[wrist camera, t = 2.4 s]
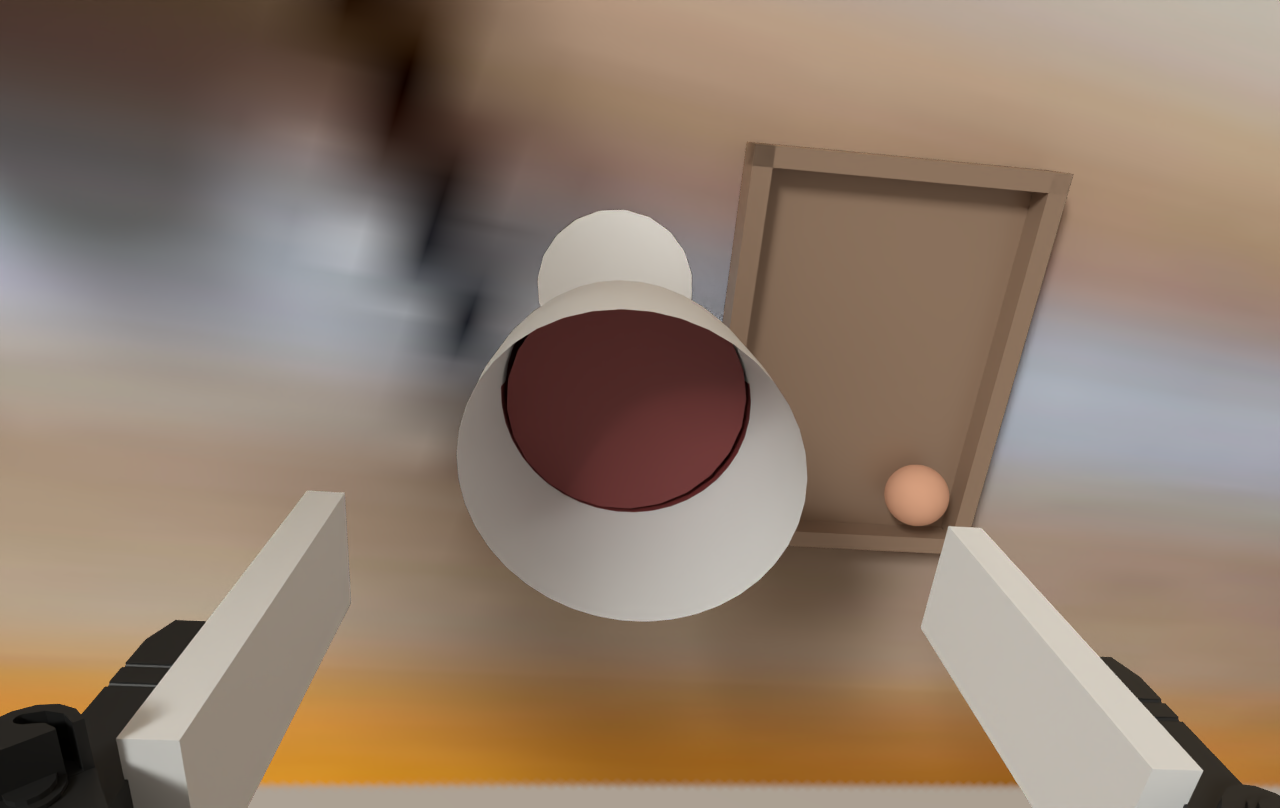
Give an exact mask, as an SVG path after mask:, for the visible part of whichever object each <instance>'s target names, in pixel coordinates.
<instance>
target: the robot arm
mask: <svg viewBox="0 0 1280 808" xmlns="http://www.w3.org/2000/svg"><path fill="white" fill-rule="evenodd" d="M350 604H351V591H350V574H349V556H348V539H347V521H346V504H345V493H341V492H323V491H306V493H305V494H304V495H303V497H302V498H301V499H300V501H299V502H298V503H297V504H296V506H295V507H294V508H293V510H292V511H291V512H290V514H289V515H288V516H287V517H286V519H285V520H284V521H283V523H282V524H281V525H280V526H279V528H278V529H277V530H276V532H275V533H274V534H273V536H272V537H271V538H270V539H269V541H268V542H267V543H266V545H265V546H264V547H263V549H262V550H261V551H260V552H259V554H258V555H257V556H256V558H255V559H254V560H253V562H252V563H251V564H250V565H249V567H248V568H247V569H246V571H245V572H244V573H243V574H242V576H241V577H240V578H239V580H238V581H237V582H236V584H235V585H234V586H233V587H232V589H231V590H230V591H229V593H228V594H227V595H226V597H225V598H224V599H223V600H222V602H221V603H220V604H219V606H218V607H217V608H216V610H215V611H214V612H213V613H212V615H211V616H210V617H209V619H208V620H207V621H184V620H175V621H173V622H172V623H170V624H169V625H167V626H166V627H164V628H163V629H161V630H160V631H158V632H157V633H155V634H153V635H152V636H150V637H149V638H147V639H146V640H145V641H144V642H143V643H142V644H141V646H140V647H139V648H138V649H137V650H136V651H135V653H134V654H133V655H132V656H131V657H130V658H129V660H128V661H127V662H126V665H125V667H122V668H121V669H120V670H119V671H118V672H117V673H116V675H115V676H114V677H113V678H112V679H111V680H110V682H109V686H108V687H104V689H103V690H102V691H101V692H100V693H99V694H98V696H97V697H96V698H95V699H94V700H93V701H92V703H91V704H90V705H89V706H88V707H87V708H86V710H85V711H84V712H83V713H82V714H80V713H79V712H78V711H77V709H75V708H72V707H68V706H65V705H61V704H47V705H35V706H31V707H27V708H23V709H20V710H16V711H12V712H10V713H7V714H5V715H3V716H1V717H0V808H248V806H249V804H250V802H251V800H252V798H253V796H254V794H255V792H256V790H257V788H258V786H259V784H260V782H261V780H262V778H263V776H264V774H265V772H266V770H267V768H268V766H269V764H270V762H271V760H272V758H273V756H274V754H275V752H276V750H277V748H278V746H279V744H280V742H281V740H282V738H283V736H284V734H285V732H286V730H287V728H288V727H289V725H290V723H291V721H292V719H293V717H294V715H295V713H296V711H297V709H298V707H299V705H300V703H301V701H302V699H303V697H304V695H305V693H306V691H307V689H308V687H309V685H310V683H311V681H312V679H313V677H314V675H315V673H316V671H317V669H318V667H319V665H320V663H321V661H322V659H323V657H324V655H325V653H326V651H327V649H328V647H329V645H330V643H331V641H332V639H333V638H334V636H335V634H336V632H337V630H338V628H339V626H340V624H341V622H342V620H343V618H344V616H345V614H346V612H347V610H348V608H349V606H350ZM921 629H922V631H923V632H924V634H925V636H926V637H927V639H928V640H929V642H930V644H931V645H932V647H933V648H934V650H935V652H936V653H937V655H938V657H939V658H940V660H941V661H942V663H943V665H944V666H945V668H946V669H947V671H948V673H949V674H950V676H951V677H952V679H953V681H954V682H955V684H956V685H957V687H958V689H959V690H960V692H961V694H962V695H963V697H964V698H965V700H966V702H967V703H968V705H969V706H970V708H971V710H972V711H973V713H974V714H975V716H976V718H977V719H978V721H979V723H980V724H981V726H982V727H983V729H984V731H985V732H986V734H987V735H988V737H989V739H990V740H991V742H992V743H993V745H994V747H995V748H996V750H997V752H998V753H999V755H1000V756H1001V758H1002V760H1003V761H1004V763H1005V764H1006V766H1007V768H1008V769H1009V771H1010V772H1011V774H1012V776H1013V777H1014V779H1015V781H1016V782H1017V784H1018V785H1019V787H1020V789H1021V790H1022V792H1023V793H1024V795H1025V797H1026V798H1027V800H1028V801H1029V803H1030V805H1031V806H1032V808H1280V796H1279V795H1278V794H1276V793H1273V792H1270V791H1267V790H1265V789H1262V788H1259V787H1256V786H1250V785H1243V784H1242V783H1241V782H1240V781H1239V780H1238V779H1237V778H1236V777H1235V776H1234V775H1233V774H1232V773H1231V772H1230V771H1229V770H1228V769H1227V768H1226V767H1225V766H1224V765H1223V763H1222V762H1221V761H1220V760H1219V759H1218V758H1217V757H1216V756H1215V755H1214V754H1213V753H1212V752H1211V751H1210V750H1209V749H1208V748H1207V747H1206V746H1205V745H1204V744H1203V743H1202V741H1201V740H1200V739H1199V738H1198V737H1197V736H1196V735H1195V734H1194V733H1193V732H1192V731H1191V730H1190V729H1189V728H1188V727H1187V726H1186V725H1185V724H1184V723H1183V722H1179V720H1178V716H1177V715H1176V714H1175V713H1174V712H1173V711H1172V710H1171V709H1170V708H1169V707H1168V706H1167V705H1166V704H1165V703H1161V698H1160V697H1159V696H1158V695H1157V694H1156V693H1155V692H1154V691H1153V690H1152V689H1151V688H1150V687H1149V686H1148V685H1147V684H1146V683H1145V682H1144V681H1143V680H1142V679H1141V678H1140V677H1139V676H1138V675H1136V674H1135V673H1133V672H1132V671H1130V670H1129V669H1128V668H1126V667H1125V666H1123V665H1122V664H1120V663H1119V662H1117V661H1116V660H1114V659H1113V658H1112V657H1099V656H1098V655H1097V654H1096V653H1095V652H1094V651H1093V649H1092V648H1091V647H1090V646H1089V645H1088V644H1087V643H1086V642H1085V641H1084V640H1083V639H1082V637H1081V636H1080V635H1079V634H1078V633H1077V632H1076V631H1075V630H1074V629H1073V628H1072V627H1071V625H1070V624H1069V623H1068V622H1067V621H1066V620H1065V619H1064V618H1063V617H1062V616H1061V615H1060V613H1059V612H1058V611H1057V610H1056V609H1055V608H1054V607H1053V606H1052V605H1051V604H1050V602H1049V601H1048V600H1047V599H1046V598H1045V597H1044V596H1043V595H1042V594H1041V593H1040V592H1039V590H1038V589H1037V588H1036V587H1035V586H1034V585H1033V584H1032V583H1031V582H1030V581H1029V580H1028V578H1027V577H1026V576H1025V575H1024V574H1023V573H1022V572H1021V571H1020V570H1019V569H1018V568H1017V566H1016V565H1015V564H1014V563H1013V562H1012V561H1011V560H1010V559H1009V558H1008V557H1007V555H1006V554H1005V553H1004V552H1003V551H1002V550H1001V549H1000V548H999V547H998V546H997V545H996V543H995V542H994V541H993V540H992V539H991V538H990V537H989V536H988V535H987V534H986V533H985V531H984V530H983V529H982V528H973V527H955V526H948V530H947V533H946V537H945V541H944V544H943V548H942V552H941V555H940V559H939V562H938V566H937V570H936V573H935V577H934V581H933V584H932V588H931V592H930V595H929V599H928V603H927V606H926V610H925V614H924V617H923V621H922V625H921Z"/></svg>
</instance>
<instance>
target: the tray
mask: <svg viewBox="0 0 1280 808" xmlns="http://www.w3.org/2000/svg"><path fill="white" fill-rule="evenodd" d="M1073 175H1074V174H1070V173H1063V172H1056V171H1049V170H1038V169H1028V168H1017V167H1007V166H996V165H986V164H975V163H965V162H954V161H944V160H933V159H923V158H913V157H902V156H892V155H881V154H871V153H860V152H850V151H839V150H829V149H818V148H808V147H797V146H787V145H776V144H766V143H755V142H747V144H746V152H745V159H744V166H743V174H742V181H741V189H740V196H739V203H738V211H737V218H736V226H735V233H734V240H733V248H732V255H731V263H730V270H729V277H728V285H727V292H726V300H725V307H724V314H723V322H722V323H723V324H725V325H726V326H727V327H728V328H729V329H730V330H731V331H732V332H733V333H734V334H735V335H736V337H737V338H738V339H739V340H740V341H741V342H742V343H743V344H744V346H745V347H746V348H747V349H748V350H749V351H750V352H751V353H752V355H753V356H754V357H755V358H756V359H757V360H758V361H759V362H760V364H761V365H762V366H763V367H764V369H765V370H766V371H767V373H768V374H769V376H770V377H771V378H772V380H773V381H774V383H775V384H776V386H777V387H778V389H779V390H780V392H781V393H782V395H783V397H784V398H785V400H786V401H787V403H788V404H789V406H790V408H791V411H792V413H793V415H794V417H795V420H796V422H797V424H798V427H799V429H800V433H801V437H802V441H803V445H804V449H805V453H806V466H807V486H806V496H805V503H804V506H803V510H802V513H801V517H800V520H799V524H798V526H797V528H796V530H795V532H794V534H793V536H792V538H791V541H790V543H789V545H788V546H796V547H817V548H837V549H857V550H877V551H898V552H918V553H938V554H941V552H942V548H943V544H944V541H945V537H946V533H947V530H948V526H955V527H972V523H973V520H974V516H975V513H976V509H977V506H978V502H979V499H980V496H981V492H982V489H983V485H984V482H985V478H986V475H987V471H988V468H989V464H990V461H991V458H992V454H993V451H994V447H995V444H996V440H997V437H998V433H999V430H1000V427H1001V423H1002V420H1003V416H1004V413H1005V409H1006V406H1007V402H1008V399H1009V395H1010V392H1011V389H1012V385H1013V382H1014V378H1015V375H1016V371H1017V368H1018V364H1019V361H1020V358H1021V354H1022V351H1023V347H1024V344H1025V340H1026V337H1027V333H1028V330H1029V326H1030V323H1031V320H1032V316H1033V313H1034V309H1035V306H1036V302H1037V299H1038V295H1039V292H1040V288H1041V285H1042V282H1043V278H1044V275H1045V271H1046V268H1047V264H1048V261H1049V257H1050V254H1051V251H1052V247H1053V244H1054V240H1055V237H1056V233H1057V230H1058V226H1059V223H1060V219H1061V216H1062V213H1063V209H1064V206H1065V202H1066V199H1067V195H1068V192H1069V188H1070V185H1071V182H1072V178H1073ZM907 465H924V466H927V467H930V468H932V469H933V470H935V471H936V472H938V473H939V474H940V475H941V476H942V477H943V479H944V480H945V482H946V484H947V486H948V489H949V504H948V507H947V509H946V511H945V513H944V514H943V515H942V516H941V517H940V518H939V519H938V520H937V521H935V522H933V523H931V524H928V525H924V526H912V525H908V524H905V523H903V522H901V521H899V520H898V519H897V518H895V517H894V516H893V515H892V514H891V512H890V511H889V509H888V507H887V505H886V502H885V497H884V490H885V486H886V483H887V481H888V479H889V477H890V476H891V475H892V474H893V473H894V472H895V471H896V470H898V469H900V468H902V467H904V466H907Z"/></svg>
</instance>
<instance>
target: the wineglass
mask: <svg viewBox="0 0 1280 808" xmlns="http://www.w3.org/2000/svg"><path fill="white" fill-rule="evenodd" d="M537 281H538V295H539V304H540V307H539V308H537V309H536V310H535V311H533V312H532V313H531V314H530V315H529V316H528V317H527V318H526V319H524V320H523V321H522V322H521V323H520V324H519V325H518V326H517V327H516V328H515V329H514V330H513V331H512V332H511V333H510V334H509V336H508V337H507V338H506V340H505V341H504V342H503V344H502V345H501V346H500V348H499V349H498V350H497V352H496V353H495V354H494V356H493V357H492V358H491V360H490V361H489V362H488V364H487V365H486V367H485V369H484V371H483V372H482V374H481V376H480V378H479V380H478V382H477V384H476V386H475V388H474V390H473V392H472V394H471V396H470V398H469V400H468V402H467V404H466V407H465V410H464V414H463V417H462V421H461V424H460V427H459V433H458V444H457V454H456V456H457V467H458V479H459V483H460V487H461V491H462V494H463V498H464V502H465V505H466V507H467V509H468V512H469V514H470V516H471V518H472V520H473V523H474V525H475V527H476V529H477V530H478V532H479V533H480V535H481V536H482V538H483V539H484V541H485V542H486V544H487V545H488V547H489V548H490V549H491V551H492V552H493V553H494V554H495V555H496V556H497V557H498V558H499V559H500V561H501V562H502V563H503V564H504V565H505V566H506V567H507V568H508V569H509V570H510V571H512V572H513V573H514V574H515V575H516V576H518V577H519V578H520V579H521V580H522V581H524V582H525V583H526V584H527V585H529V586H531V587H532V588H534V589H535V590H537V591H538V592H540V593H542V594H543V595H545V596H546V597H548V598H550V599H552V600H554V601H557V602H559V603H561V604H563V605H565V606H568V607H570V608H572V609H575V610H578V611H582V612H585V613H588V614H591V615H595V616H599V617H605V618H610V619H616V620H623V621H644V622H648V621H660V620H672V619H677V618H681V617H686V616H690V615H695V614H698V613H701V612H703V611H706V610H709V609H712V608H714V607H717V606H719V605H721V604H723V603H725V602H727V601H729V600H731V599H733V598H734V597H736V596H738V595H740V594H741V593H743V592H744V591H745V590H747V589H748V588H749V587H751V586H752V585H753V584H755V583H756V582H757V581H759V580H760V579H761V578H762V577H763V576H764V575H765V574H766V573H767V572H768V571H769V569H770V568H771V567H772V566H773V565H774V564H775V563H776V562H777V560H778V559H779V558H780V556H781V555H782V553H783V552H784V550H785V549H786V548H787V546H788V545H789V543H790V541H791V538H792V536H793V534H794V532H795V530H796V528H797V526H798V524H799V520H800V517H801V513H802V510H803V506H804V503H805V496H806V486H807V466H806V453H805V449H804V445H803V441H802V437H801V433H800V429H799V427H798V424H797V422H796V420H795V417H794V415H793V413H792V411H791V408H790V406H789V404H788V403H787V401H786V400H785V398H784V397H783V395H782V393H781V392H780V390H779V389H778V387H777V386H776V384H775V383H774V381H773V380H772V378H771V377H770V376H769V374H768V373H767V371H766V370H765V369H764V367H763V366H762V365H761V364H760V362H759V361H758V360H757V359H756V358H755V357H754V356H753V355H752V353H751V352H750V351H749V350H748V349H747V348H746V347H745V346H744V344H743V343H742V342H741V341H740V340H739V339H738V338H737V337H736V335H735V334H734V333H733V332H732V331H731V330H730V329H729V328H728V327H727V326H726V325H725V324H723V323H722V322H721V321H720V320H719V319H717V318H716V317H715V316H714V315H712V314H711V313H710V312H709V311H708V310H706V309H705V308H704V307H702V306H701V305H699V304H697V303H695V302H694V301H692V300H691V299H692V274H691V270H690V267H689V264H688V261H687V258H686V255H685V252H684V250H683V249H682V248H681V246H680V245H679V243H678V242H677V241H676V239H675V238H674V237H673V235H672V234H671V233H670V231H668V230H667V229H665V228H664V227H663V226H661V225H660V224H658V223H657V222H655V221H654V220H653V219H651V218H650V217H647V216H644V215H641V214H637V213H634V212H631V211H627V210H605V211H598V212H595V213H592V214H589V215H587V216H584V217H581V218H579V219H576V220H575V221H574V222H572V223H571V224H570V225H569V226H567V227H566V228H565V229H564V230H562V231H561V232H560V233H559V234H557V235H556V237H555V238H554V240H553V242H552V243H551V245H550V246H549V248H548V249H547V251H546V252H545V254H544V256H543V259H542V263H541V267H540V271H539V275H538V279H537Z"/></svg>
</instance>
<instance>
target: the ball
mask: <svg viewBox="0 0 1280 808" xmlns="http://www.w3.org/2000/svg"><path fill="white" fill-rule="evenodd" d="M884 497H885V502H886V505H887V507H888V509H889V511H890V512H891V514H892V515H893V516H894V517H895V518H897V519H898V520H899V521H901V522H903V523H905V524H908V525H912V526H924V525H928V524H931V523H933V522H935V521H937V520H938V519H939V518H940V517H941V516H942V515H943V514H944V513H945V511H946V509H947V507H948V504H949V489H948V486H947V484H946V482H945V480H944V479H943V477H942V476H941V475H940V474H939V473H938V472H936V471H935V470H933V469H932V468H930V467H927V466H924V465H907V466H904V467H902V468H900V469H898V470H896V471H895V472H894V473H893V474H892V475H891V476H890V477H889V479H888V481H887V483H886V486H885V490H884Z"/></svg>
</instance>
